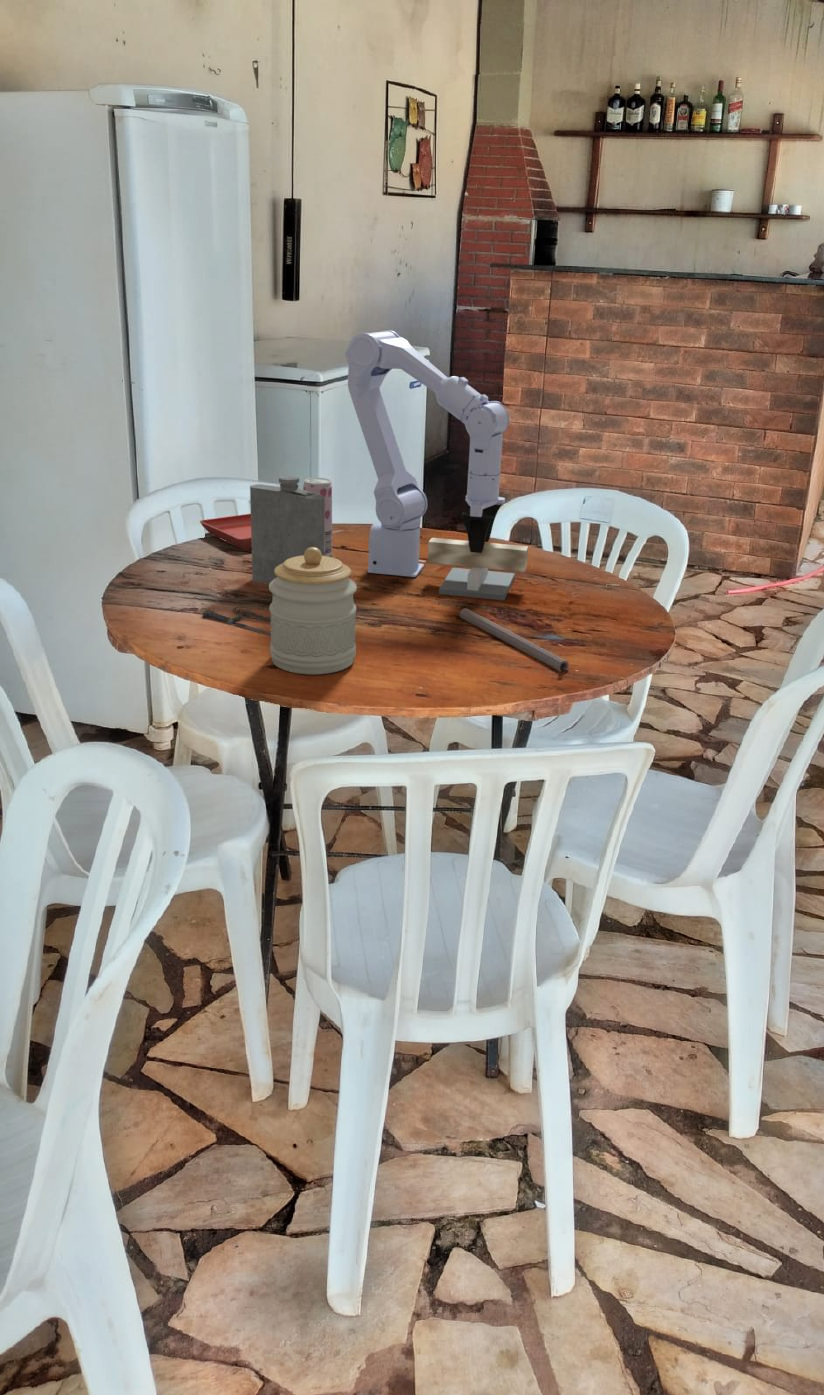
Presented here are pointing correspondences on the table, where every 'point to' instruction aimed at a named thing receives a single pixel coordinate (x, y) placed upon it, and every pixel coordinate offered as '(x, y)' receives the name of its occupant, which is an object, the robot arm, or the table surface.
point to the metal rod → (514, 640)
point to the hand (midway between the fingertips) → (479, 546)
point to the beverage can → (325, 489)
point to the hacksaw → (234, 620)
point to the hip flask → (283, 525)
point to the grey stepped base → (477, 583)
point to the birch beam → (478, 555)
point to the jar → (312, 615)
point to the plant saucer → (231, 529)
